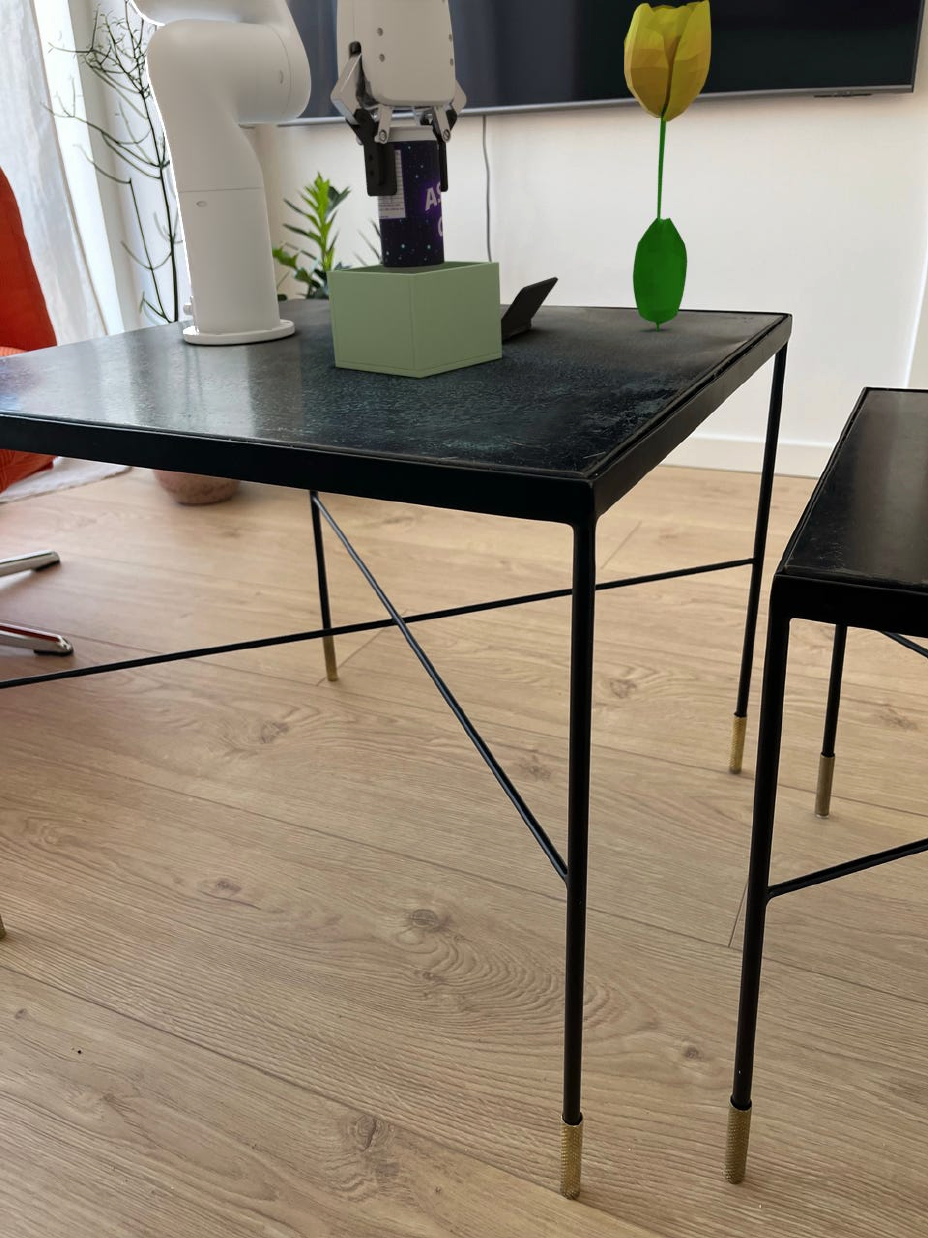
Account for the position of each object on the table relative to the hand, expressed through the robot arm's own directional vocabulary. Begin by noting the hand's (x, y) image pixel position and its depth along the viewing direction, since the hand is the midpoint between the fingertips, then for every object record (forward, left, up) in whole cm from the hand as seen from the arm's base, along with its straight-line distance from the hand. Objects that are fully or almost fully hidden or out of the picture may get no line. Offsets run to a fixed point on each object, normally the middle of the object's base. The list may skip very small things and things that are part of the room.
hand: (408, 191), depth 87 cm
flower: (+10, +26, -15) cm, 32 cm away
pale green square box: (0, 0, -15) cm, 15 cm away
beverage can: (0, 0, -7) cm, 7 cm away
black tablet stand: (-3, +16, -15) cm, 22 cm away
